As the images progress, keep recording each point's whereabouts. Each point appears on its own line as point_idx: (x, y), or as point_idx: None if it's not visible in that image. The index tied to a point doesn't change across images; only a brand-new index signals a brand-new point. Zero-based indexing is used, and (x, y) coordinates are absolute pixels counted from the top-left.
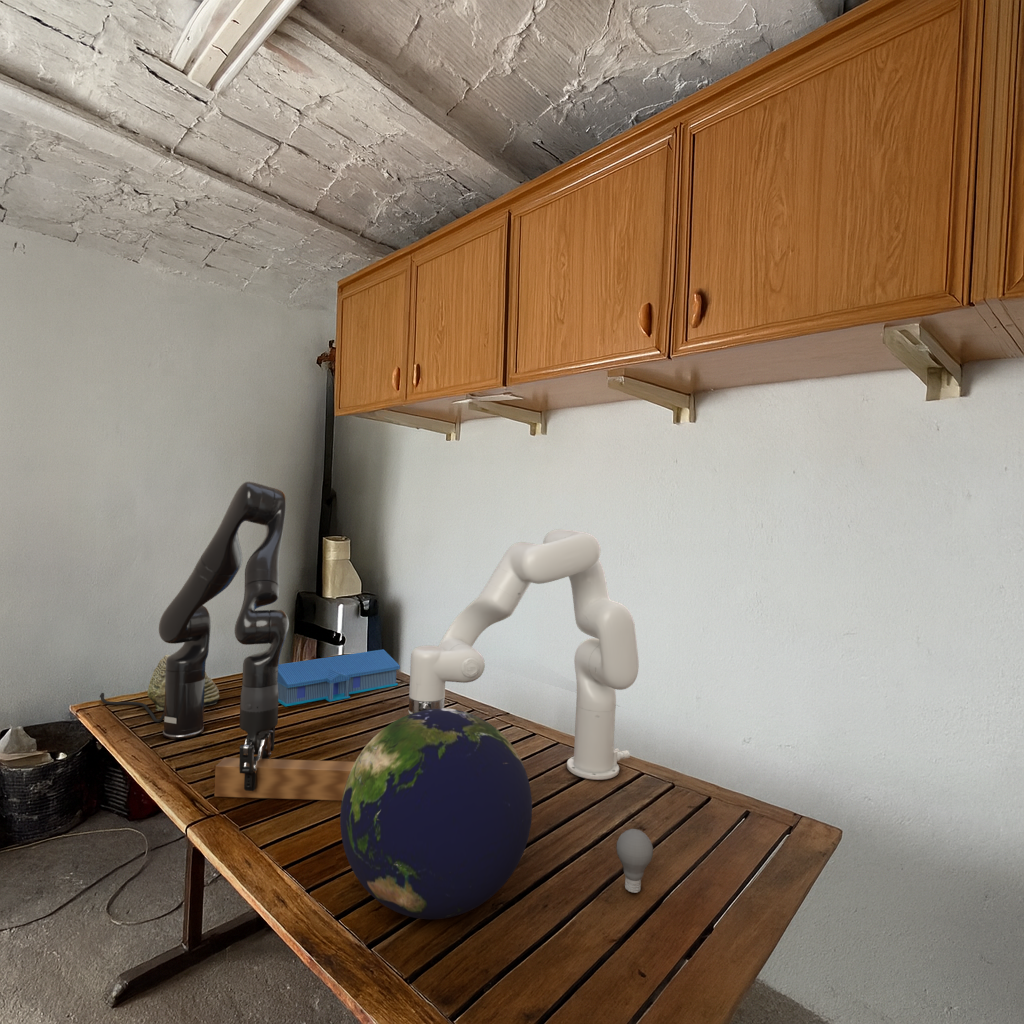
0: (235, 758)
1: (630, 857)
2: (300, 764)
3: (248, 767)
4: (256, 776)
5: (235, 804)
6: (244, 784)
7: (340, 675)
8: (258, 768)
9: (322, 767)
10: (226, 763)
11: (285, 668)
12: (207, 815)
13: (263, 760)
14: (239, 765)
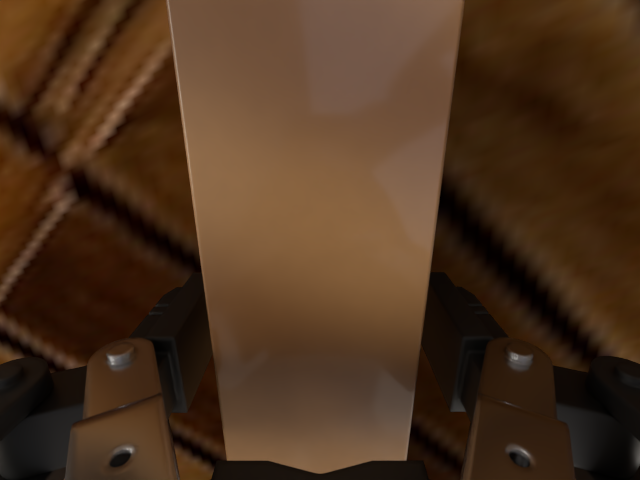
0: (422, 148)
1: None
2: None
3: (5, 467)
4: (196, 383)
5: (180, 212)
6: (184, 286)
7: None
8: (222, 421)
9: None
10: (261, 98)
11: None
12: (26, 112)
13: (370, 421)
14: (235, 265)
